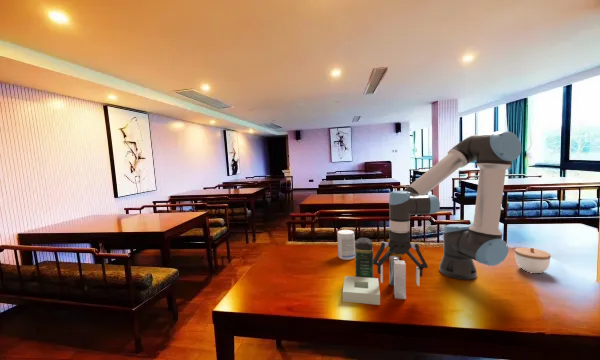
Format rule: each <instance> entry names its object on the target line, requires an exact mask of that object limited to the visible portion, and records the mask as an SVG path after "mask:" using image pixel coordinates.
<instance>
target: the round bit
mask: <svg viewBox="0 0 600 360" xmlns="http://www.w3.org/2000/svg"><path fill="white" fill-rule="evenodd" d="M388 259H389V262H388V263H389V285H390V286H391V287H394V260H400V258H399V257H396V256H390V257H389V258H388Z"/></svg>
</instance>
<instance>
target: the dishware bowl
mask: <svg viewBox="0 0 600 360" xmlns="http://www.w3.org/2000/svg"><path fill="white" fill-rule="evenodd" d="M514 259H515V262H516V264H517V265H518V267H519V268H520V269H521V268H522V269H523V270H525V271H527V272H526V273H528V272H532V273H541V274H543V272H546V271H547V270H548V269H549V266H550V263H551V253H549V252H547V251H546V250H545V251H544V250H542V249H537V248H534V247H515V249H514ZM522 269H521V270H522ZM523 270H522V271H523ZM525 271H524V272H525ZM532 273H531V274H532Z"/></svg>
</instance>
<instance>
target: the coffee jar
mask: <svg viewBox="0 0 600 360" xmlns="http://www.w3.org/2000/svg"><path fill="white" fill-rule="evenodd" d="M373 247H374V245H373V241H372V240H371V239H370V238H369V237H359V238H358V239H356V240H355V258H354V259H355V277H366V278H374V264H373V259H374V248H373Z"/></svg>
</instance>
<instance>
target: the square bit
mask: <svg viewBox="0 0 600 360" xmlns="http://www.w3.org/2000/svg"><path fill="white" fill-rule="evenodd" d="M406 265H407V264H406V261H405V260H400V259H399V260H394V286H393V296H394V299H398V300H407V270H406V269H407V266H406Z"/></svg>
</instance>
